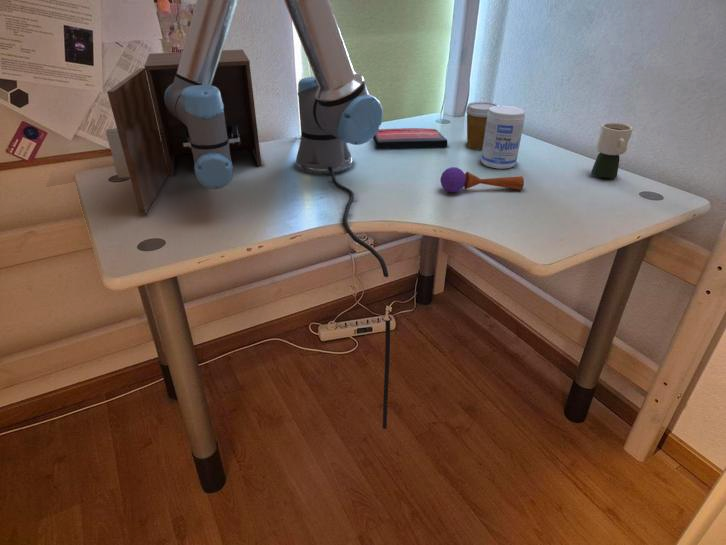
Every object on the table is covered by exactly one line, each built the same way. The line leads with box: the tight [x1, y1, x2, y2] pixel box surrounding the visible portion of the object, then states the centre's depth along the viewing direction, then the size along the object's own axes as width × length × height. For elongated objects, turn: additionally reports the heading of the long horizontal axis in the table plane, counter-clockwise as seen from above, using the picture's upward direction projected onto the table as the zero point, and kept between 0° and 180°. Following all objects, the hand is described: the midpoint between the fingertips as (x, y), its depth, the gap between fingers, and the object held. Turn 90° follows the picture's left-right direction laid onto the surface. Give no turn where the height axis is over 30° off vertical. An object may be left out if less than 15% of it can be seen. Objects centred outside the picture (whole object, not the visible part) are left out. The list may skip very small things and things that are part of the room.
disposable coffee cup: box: [465, 101, 498, 150], centre depth 146 cm, size 10×10×12 cm
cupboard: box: [104, 49, 262, 215], centre depth 121 cm, size 41×32×27 cm
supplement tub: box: [480, 105, 526, 170], centre depth 132 cm, size 10×10×15 cm
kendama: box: [439, 166, 525, 193], centre depth 119 cm, size 6×6×20 cm
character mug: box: [590, 122, 633, 179], centre depth 125 cm, size 11×7×13 cm, turn 179°
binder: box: [373, 127, 448, 150], centre depth 153 cm, size 16×2×21 cm
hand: (209, 123), depth 131 cm, fingers closed on beverage can, 6 cm apart
